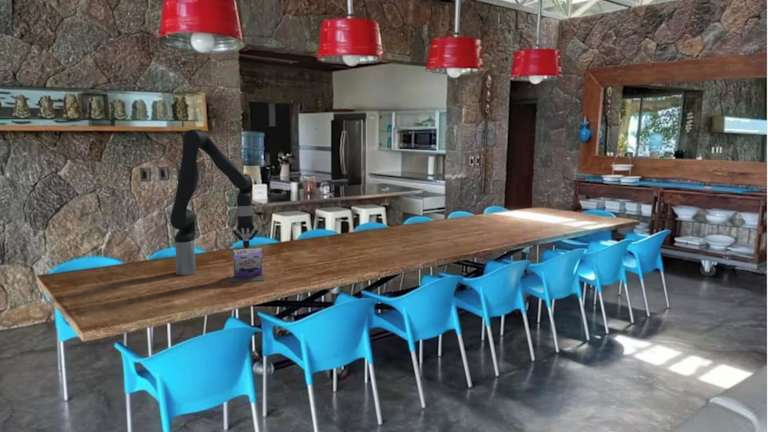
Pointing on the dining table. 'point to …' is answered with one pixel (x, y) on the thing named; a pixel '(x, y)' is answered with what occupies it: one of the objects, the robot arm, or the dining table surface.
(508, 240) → the dining table surface
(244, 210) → the robot arm
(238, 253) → the candy box
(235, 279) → the mat
